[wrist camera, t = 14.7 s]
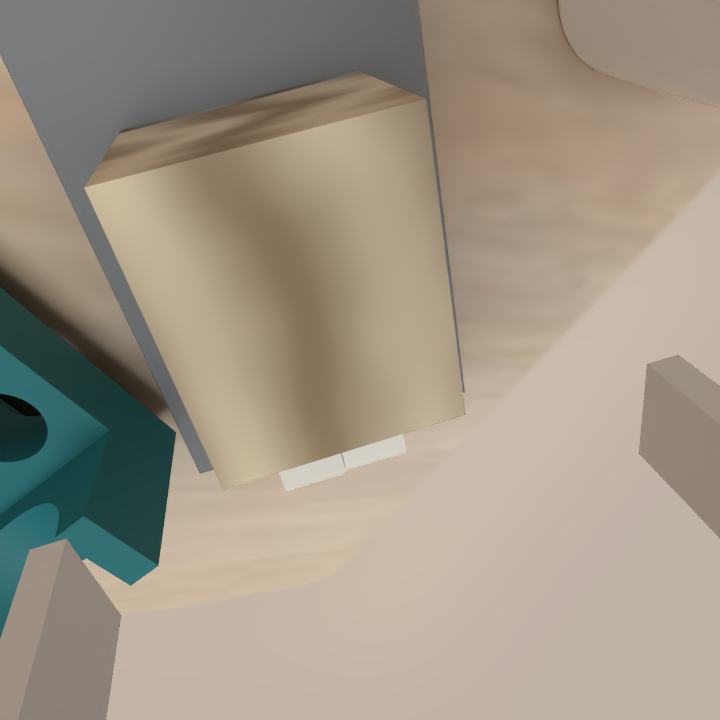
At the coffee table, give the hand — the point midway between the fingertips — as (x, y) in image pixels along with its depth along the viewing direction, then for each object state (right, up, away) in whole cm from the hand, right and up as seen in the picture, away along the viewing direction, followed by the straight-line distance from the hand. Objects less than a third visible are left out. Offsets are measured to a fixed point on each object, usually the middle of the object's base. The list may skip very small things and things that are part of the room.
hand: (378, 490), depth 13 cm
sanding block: (-4, +9, +14) cm, 17 cm away
